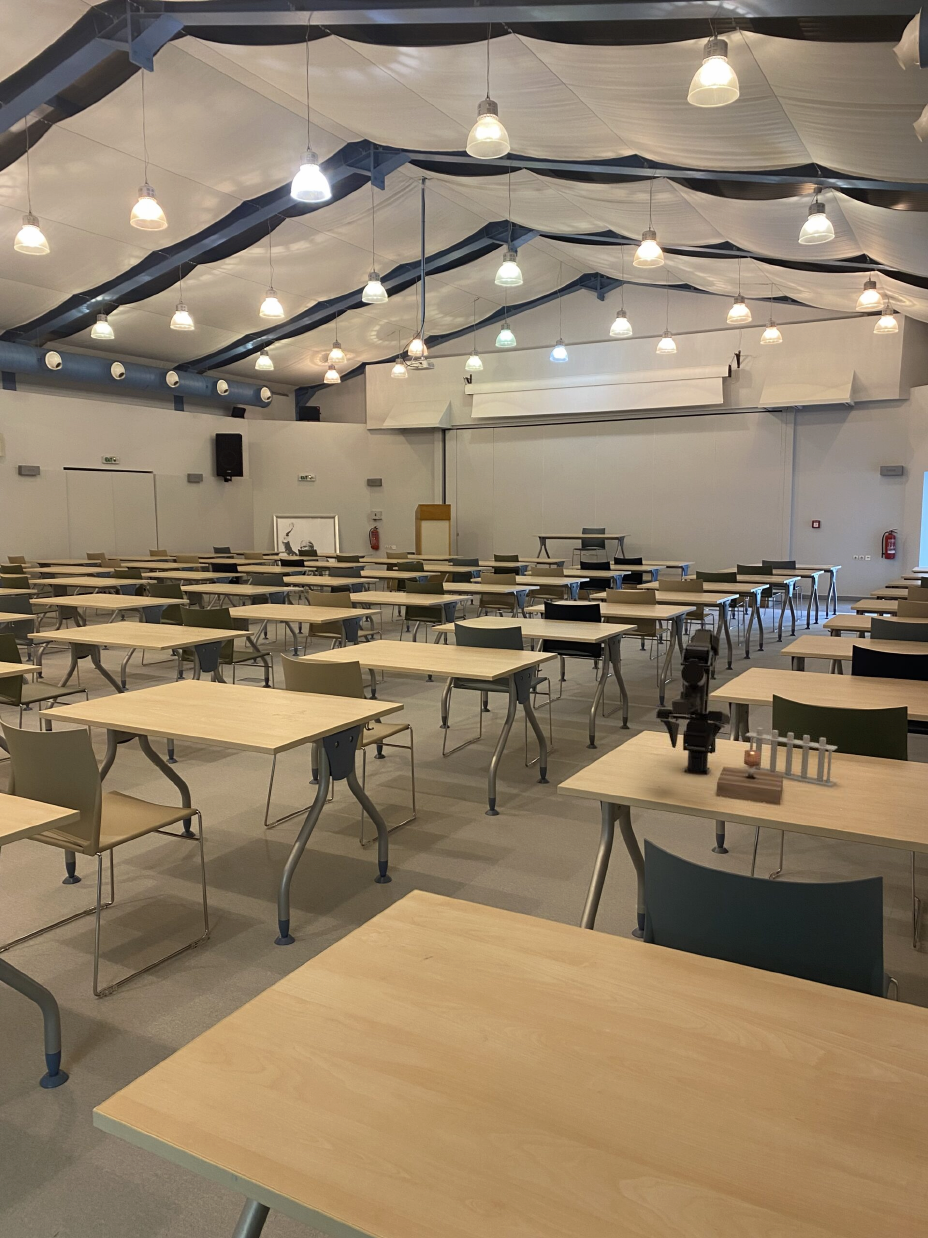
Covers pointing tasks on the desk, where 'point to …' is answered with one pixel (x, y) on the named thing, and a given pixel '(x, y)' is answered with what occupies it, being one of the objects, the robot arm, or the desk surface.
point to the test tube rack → (789, 753)
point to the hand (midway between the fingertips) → (689, 749)
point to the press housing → (750, 785)
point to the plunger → (751, 761)
